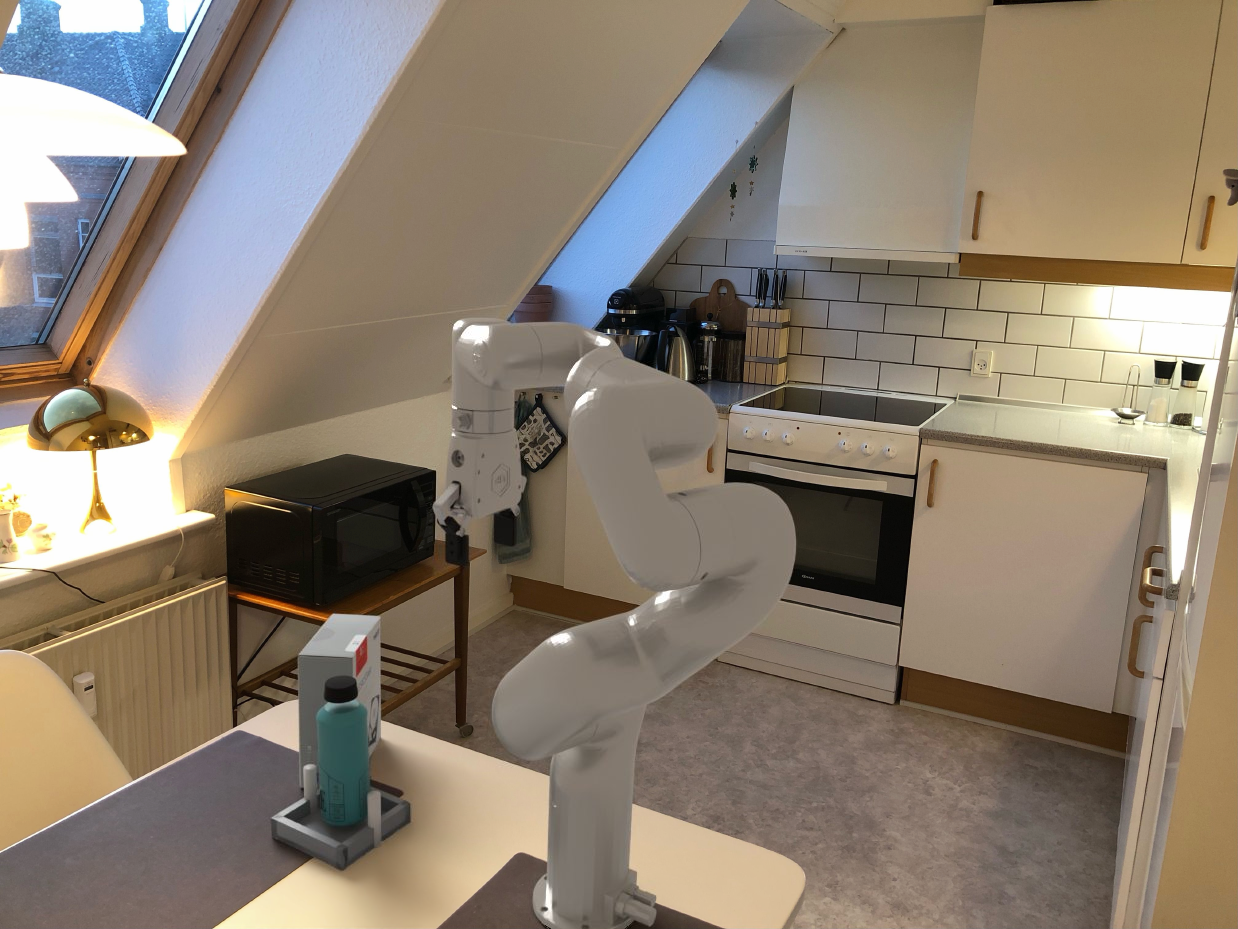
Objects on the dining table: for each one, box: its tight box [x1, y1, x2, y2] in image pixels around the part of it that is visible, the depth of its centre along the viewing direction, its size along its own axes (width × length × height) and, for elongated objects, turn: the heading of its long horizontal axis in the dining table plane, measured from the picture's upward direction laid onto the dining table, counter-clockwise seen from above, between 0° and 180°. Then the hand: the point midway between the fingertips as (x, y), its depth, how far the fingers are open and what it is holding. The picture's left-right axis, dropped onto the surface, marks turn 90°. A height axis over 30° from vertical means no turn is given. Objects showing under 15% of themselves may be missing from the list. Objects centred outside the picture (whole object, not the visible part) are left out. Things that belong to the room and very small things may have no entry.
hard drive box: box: [297, 613, 382, 789], centre depth 141 cm, size 16×8×20 cm, turn 179°
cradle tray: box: [270, 764, 412, 871], centre depth 126 cm, size 13×12×7 cm
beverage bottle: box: [316, 675, 372, 826], centre depth 125 cm, size 6×7×20 cm
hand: (481, 554), depth 124 cm, fingers open, 9 cm apart
